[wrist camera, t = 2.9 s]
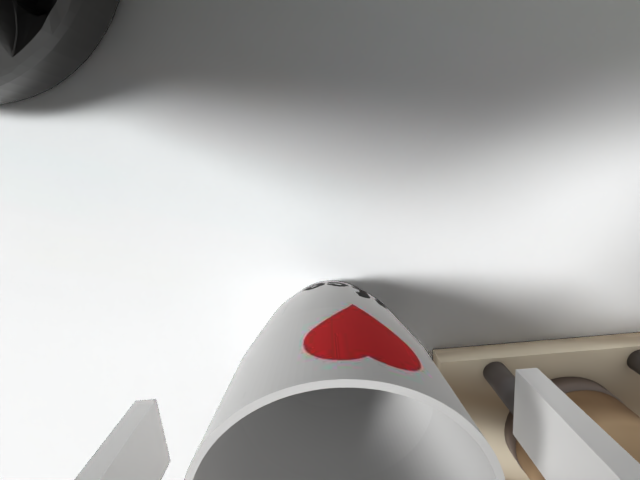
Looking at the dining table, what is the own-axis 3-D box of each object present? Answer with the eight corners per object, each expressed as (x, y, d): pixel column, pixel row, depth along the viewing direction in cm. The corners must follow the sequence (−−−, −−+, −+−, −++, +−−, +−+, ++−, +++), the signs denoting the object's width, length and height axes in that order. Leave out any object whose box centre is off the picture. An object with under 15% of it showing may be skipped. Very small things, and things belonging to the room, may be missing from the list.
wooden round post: (506, 381, 17) (601, 493, 12) (624, 371, 17) (779, 480, 12) (502, 474, 19) (583, 615, 13) (610, 466, 19) (742, 604, 13)
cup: (436, 315, 18) (577, 503, 8) (338, 414, 19) (359, 673, 10) (320, 220, 17) (321, 310, 7) (224, 334, 18) (116, 540, 8)
